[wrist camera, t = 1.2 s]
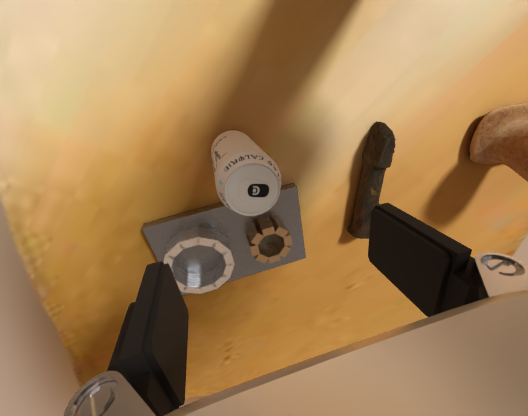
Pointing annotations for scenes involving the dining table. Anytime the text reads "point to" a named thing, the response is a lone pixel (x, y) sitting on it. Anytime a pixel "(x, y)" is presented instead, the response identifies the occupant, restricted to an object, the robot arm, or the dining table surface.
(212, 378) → the dining table surface
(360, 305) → the dining table surface
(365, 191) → the hand tool
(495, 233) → the dining table surface
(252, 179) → the energy drink can
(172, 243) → the manifold board
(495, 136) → the stone cup
